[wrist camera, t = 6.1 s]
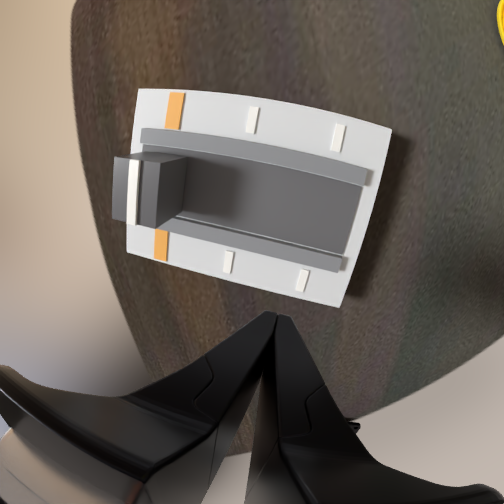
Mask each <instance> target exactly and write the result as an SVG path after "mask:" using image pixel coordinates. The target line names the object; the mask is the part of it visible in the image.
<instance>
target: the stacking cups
mask: <svg viewBox="0 0 504 504" xmlns="http://www.w3.org/2000/svg"><path fill="white" fill-rule="evenodd" d="M497 23H498V28H499V33H500V36H501V39H502V42H503V45H504V0H501V1H500V2H499V4H498V8H497Z"/></svg>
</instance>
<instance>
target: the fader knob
mask: <svg viewBox="0 0 504 504" xmlns="http://www.w3.org/2000/svg"><path fill="white" fill-rule="evenodd" d="M187 160H188V157H185V156H179V155H172V154H164V153H157V152H149V151H145V152H139V153H133V154H128V155H122V156H117V157H114V172H113V196H112V219H116V220H120V221H124V222H127V223H126V224H130V225H134V226H136V225H141V226H145V227H149V228H153V229H156V228H158V227H159V226H161V225H162V224H164V223H165V222H167V221H169V220H170V219H172V218H173V217H175V216H176V215H178V214H180V213H181V212H182V203H183V193H184V184H185V176H186V168H187Z"/></svg>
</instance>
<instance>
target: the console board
mask: <svg viewBox="0 0 504 504" xmlns="http://www.w3.org/2000/svg"><path fill="white" fill-rule="evenodd" d="M391 132H392V129H389V128H386V127H383V126H379V125H376V124H373V123H370V122H366V121H363V120H359V119H356V118H352V117H349V116H345V115H341V114H337V113H333V112H329V111H325V110H321V109H316V108H312V107H307V106H302V105H298V104H292V103H287V102H282V101H276V100H270V99H264V98H257V97H251V96H243V95H235V94H227V93H217V92H206V91H192V90H174V89H139V91H138V97H137V104H136V111H135V118H134V126H133V135H132V144H131V154H133V153H139V152H145V151H149V152H157V153H164V154H172V155H179V156H185V157H188V160H187V168H186V176H185V184H184V193H183V203H182V212H181V213H180V214H178V215H176V216H175V217H173V218H172V219H170V220H169V221H167V222H165V223H164V224H162V225H161V226H159V227H158V228H156V229H153V228H149V227H145V226H141V225H136V226H134V225H130V224H127V252H129V253H132V254H135V255H139V256H142V257H146V258H149V259H153V260H156V261H160V262H163V263H167V264H170V265H174V266H177V267H181V268H184V269H188V270H192V271H195V272H199V273H203V274H206V275H210V276H214V277H217V278H221V279H225V280H229V281H232V282H236V283H240V284H244V285H248V286H252V287H256V288H260V289H264V290H267V291H271V292H275V293H279V294H284V295H288V296H292V297H296V298H300V299H304V300H308V301H312V302H317V303H321V304H325V305H329V306H334V307H338V308H339V307H340V305H341V302H342V299H343V297H344V294H345V291H346V289H347V286H348V283H349V280H350V278H351V275H352V272H353V269H354V266H355V263H356V260H357V257H358V254H359V251H360V248H361V245H362V242H363V239H364V236H365V232H366V229H367V226H368V222H369V219H370V216H371V212H372V209H373V205H374V202H375V198H376V195H377V191H378V187H379V183H380V179H381V176H382V172H383V168H384V163H385V159H386V155H387V151H388V146H389V142H390V137H391Z"/></svg>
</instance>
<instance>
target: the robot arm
mask: <svg viewBox="0 0 504 504" xmlns="http://www.w3.org/2000/svg"><path fill="white" fill-rule="evenodd" d="M264 365H265V366H264ZM262 372H263V373H262ZM261 376H262V378H261ZM260 379H261V384H260V392H259V400H258V408H257V416H256V424H255V431H254V439H253V446H252V454H251V461H250V468H249V475H248V482H247V489H246V496H245V502H244V504H503V503H504V497H503V496H502V494H500V493H499V492H498V491H497V490H496V489H494V488H491V487H489V486H486V485H484V484H474V485H469V486H463V487H450V486H443V485H439V484H435V483H432V482H429V481H426V480H423V479H420V478H417V477H414V476H411V475H408V474H406V473H403V472H400V471H398V470H395V469H392V468H390V467H387V466H385V465H383V464H381V463H380V462H378V461H377V460H376V459H374V458H373V457H372V456H371V454H370V453H369V452H368V451H367V450H366V448H365V447H364V445H363V444H362V442H361V441H360V440H359V438H358V437H357V435H356V433H357V432H358V430H359V429H360V424H359V423H355V422H347V421H346V419H345V418H344V416H343V415H342V413H341V411H340V410H339V408H338V407H337V405H336V403H335V401H334V400H333V398H332V396H331V394H330V392H329V390H328V388H327V386H326V385H325V382H324V380H323V378H322V377H321V375H320V373H319V371H318V369H317V367H316V365H315V363H314V361H313V359H312V357H311V355H310V353H309V351H308V349H307V347H306V345H305V343H304V341H303V339H302V337H301V335H300V333H299V331H298V329H297V327H296V325H295V323H294V321H293V319H292V317H291V316H288V315H284V314H278V315H277V313H275V312H271V311H267V310H265V311H264V312H262V313H261V314H259V315H258V316H257V317H255V318H254V319H253V320H251V321H250V322H249V323H247V324H246V325H244V326H243V327H242V328H240V329H239V330H238V331H236V332H235V333H233V334H232V335H231V336H229V337H228V338H226V339H225V340H223V341H222V342H221V343H219V344H218V345H216V346H215V347H214V348H212V349H211V350H209V351H208V352H206V353H205V354H204V355H202V356H200V357H199V358H197V359H196V360H194V361H193V362H191V363H190V364H188V365H186V366H185V367H183V368H182V369H180V370H178V371H176V372H174V373H172V374H170V375H168V376H166V377H164V378H162V379H160V380H158V381H156V382H153V383H151V384H149V385H147V386H145V387H143V388H140V389H138V390H136V391H134V392H131V393H129V394H126V395H122V396H116V397H106V396H98V395H89V394H83V393H76V392H69V391H64V390H58V389H53V388H49V387H45V386H41V385H39V384H36V383H34V382H31V381H29V380H28V379H26V378H24V377H23V376H22V375H20V374H19V373H18V372H17V371H15V370H14V369H12V368H11V367H9V366H5V365H0V414H1V416H2V417H3V419H4V420H5V421H6V423H7V424H8V426H9V427H10V428H9V429H8V430H7V432H6V433H5V434H4V435H3V436H2V438H1V439H0V504H201V502H202V500H203V498H204V496H205V494H206V493H207V490H208V489H209V487H210V485H211V483H212V481H213V479H214V477H215V475H216V473H217V471H218V469H219V467H220V465H221V463H222V461H223V459H224V457H225V455H226V453H227V451H228V449H229V447H230V445H231V443H232V441H233V439H234V436H235V434H236V432H237V430H238V428H239V426H240V424H241V421H242V419H243V417H244V415H245V413H246V411H247V408H248V406H249V404H250V402H251V400H252V397H253V395H254V393H255V391H256V388H257V386H258V384H259V381H260Z"/></svg>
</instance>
